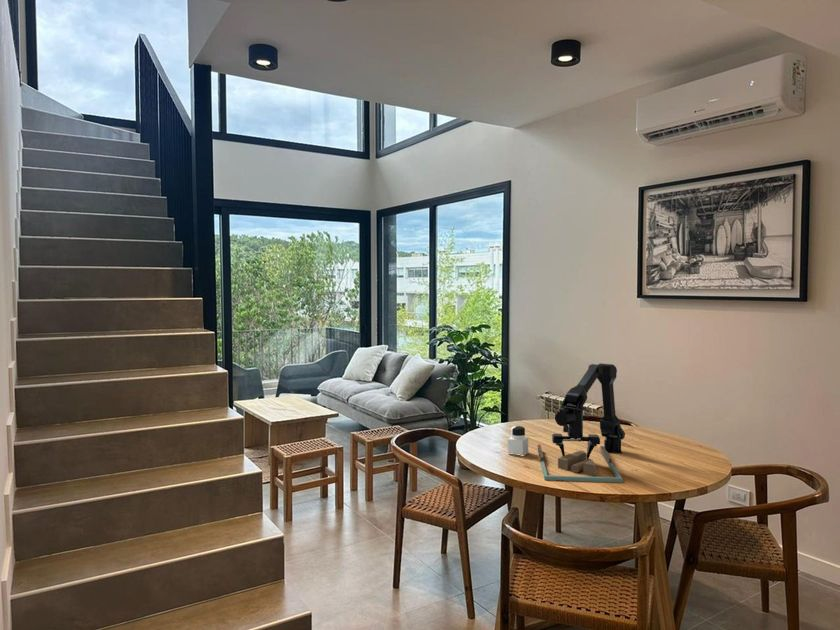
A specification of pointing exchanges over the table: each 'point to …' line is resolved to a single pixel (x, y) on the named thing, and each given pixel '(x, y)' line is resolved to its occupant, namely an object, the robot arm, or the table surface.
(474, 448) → the table surface
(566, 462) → the wooden block set
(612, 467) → the frame
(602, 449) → the pair of brown bars
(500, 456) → the table surface
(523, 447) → the medicine bottle
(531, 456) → the table surface
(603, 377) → the robot arm
